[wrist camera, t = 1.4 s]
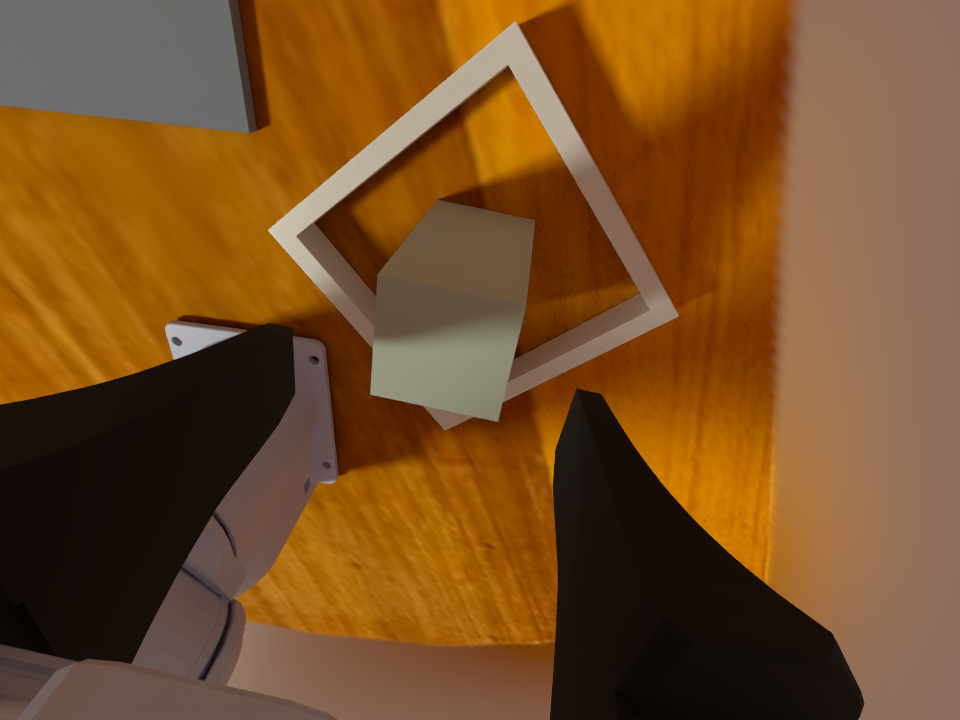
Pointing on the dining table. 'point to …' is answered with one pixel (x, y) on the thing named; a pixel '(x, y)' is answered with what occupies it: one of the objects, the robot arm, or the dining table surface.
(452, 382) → the block
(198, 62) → the mat
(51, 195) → the dining table surface
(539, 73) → the rectangular frame
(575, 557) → the robot arm
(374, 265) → the dining table surface
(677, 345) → the dining table surface
